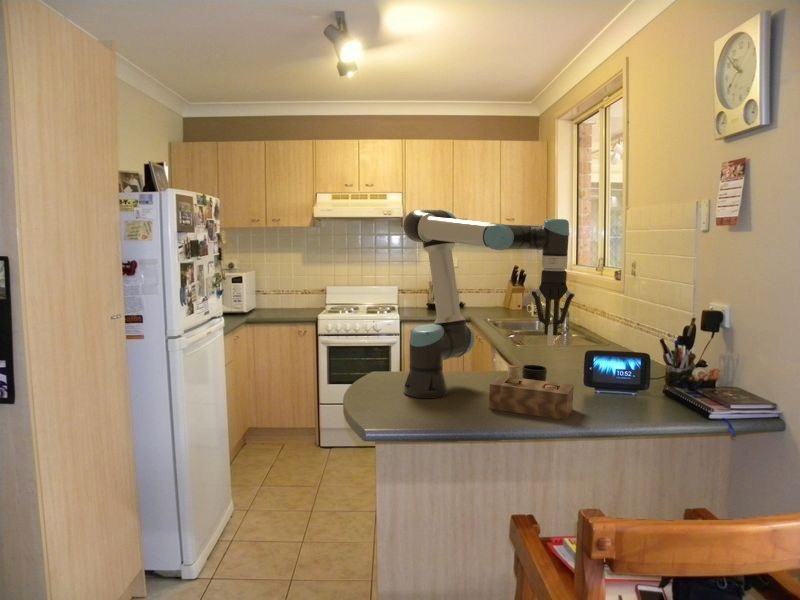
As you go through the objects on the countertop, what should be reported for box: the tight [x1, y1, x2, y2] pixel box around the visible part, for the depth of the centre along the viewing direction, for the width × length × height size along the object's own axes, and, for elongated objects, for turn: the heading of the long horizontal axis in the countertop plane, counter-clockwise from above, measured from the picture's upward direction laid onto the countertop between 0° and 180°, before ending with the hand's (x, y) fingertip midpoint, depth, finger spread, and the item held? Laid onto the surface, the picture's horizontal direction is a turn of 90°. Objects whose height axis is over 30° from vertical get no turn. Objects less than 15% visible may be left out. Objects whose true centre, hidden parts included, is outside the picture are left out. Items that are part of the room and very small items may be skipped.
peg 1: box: [507, 365, 520, 385], centre depth 181 cm, size 4×4×8 cm
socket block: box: [488, 375, 575, 421], centre depth 179 cm, size 24×12×8 cm, turn 64°
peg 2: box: [545, 385, 557, 390], centre depth 176 cm, size 4×4×8 cm
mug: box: [521, 364, 548, 381], centre depth 197 cm, size 8×12×10 cm
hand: (550, 345), depth 175 cm, fingers closed
